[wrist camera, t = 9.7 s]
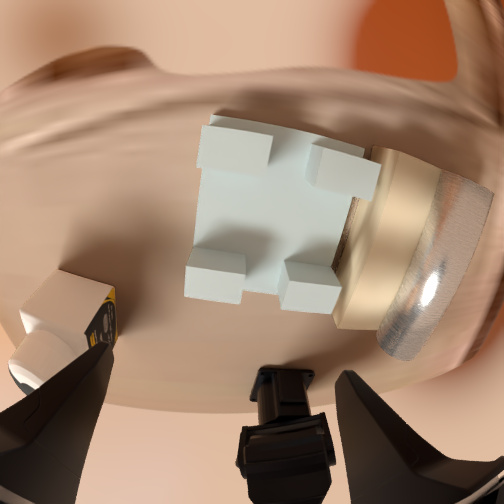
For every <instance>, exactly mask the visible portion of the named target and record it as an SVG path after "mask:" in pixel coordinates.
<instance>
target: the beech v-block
mask: <svg viewBox="0 0 504 504" xmlns="http://www.w3.org/2000/svg"><path fill="white" fill-rule="evenodd" d="M370 161H373V162H376V163H378V164H381V168H380V172H379V176H378V180H377V184H376V187H375V191H374V194H373V198H372V201H368V200H364V199H359V202H358V205H357V209H356V212H355V216H354V219H353V222H352V225H351V229H350V232H349V235H348V238H347V241H346V244H345V247H344V250H343V253H342V256H341V259H340V262H339V265H338V268H337V270H336V273H335V275H336V277H337V279H338V281H339V282H340V284H341V286H342V289H341V291H340V294H339V296H338V299H337V301H336V304H335V306H334V308H333V311H332V313H331V314H332V316H333V318H334V321H335V323H336V326H337V328H338V329H356V330H378V329H379V327H380V325H381V323H382V322H383V320H384V318H385V316H386V314H387V312H388V310H389V308H390V306H391V304H392V302H393V300H394V298H395V296H396V294H397V292H398V290H399V287H400V285H401V283H402V281H403V279H404V276H405V274H406V272H407V270H408V267H409V265H410V263H411V260H412V258H413V255H414V253H415V250H416V248H417V245H418V243H419V240H420V237H421V235H422V232H423V229H424V226H425V224H426V221H427V218H428V215H429V212H430V209H431V206H432V202H433V199H434V196H435V192H436V189H437V185H438V182H439V178H440V174H441V171H442V169H440V168H438V167H435V166H433V165H431V164H429V163H427V162H424V161H422V160H420V159H418V158H415V157H413V156H410V155H408V154H406V153H403V152H401V151H397V150H393V149H389V148H384V147H380V146H376V145H373V148H372V153H371V157H370Z"/></svg>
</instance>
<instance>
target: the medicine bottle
mask: <svg viewBox="0 0 504 504" xmlns="http://www.w3.org/2000/svg"><path fill="white" fill-rule="evenodd" d="M20 315H21V318H22V321H23V324H24V327H25V330H26V333H27V335H26V337H25V338H24V339H23V341H22V342H21V344H20V345H19V346H18V348H17V349H16V351H15V352H14V354H13V355H12V357H11V358H10V360H9V362H8V366H9V372H10V374H11V376H12V378H13V379H14V381H15V383H16V384H17V386H18V387H19V388H20V389H21V390H22V391H23V392H24V393H25V394H26V395H29V394H30V393H31V392H33V391H34V390H35V389H37V388H39V386H41V385H42V384H43V383H45V382H46V381H47V380H48V379H50V378H51V377H52V376H54V375H55V374H56V373H58V372H59V371H60V370H62V369H63V368H64V367H66V366H67V365H68V364H70V363H71V362H72V361H74V360H75V359H76V358H77V357H79V356H80V355H81V354H83V353H84V352H85V351H87V350H88V349H90V348H91V347H92V346H94V345H95V344H96V343H98V342H99V341H105V342H109V343H110V344H111V347H112V350H113V348H114V345H115V343H116V341H117V339H118V334H117V321H116V303H115V288H114V287H113V286H111V285H108V284H104V283H101V282H97V281H94V280H90V279H87V278H84V277H81V276H77V275H74V274H71V273H68V272H65V271H62V270H58V269H57V270H55V271H54V272H53V273H52V274H51V275H50V276H49V277H48V279H47V280H46V281H45V282H44V283H43V284H42V285H41V286H40V287H39V288H38V289H37V290H36V291H35V292H34V293H33V295H32V296H31V297H30V298H29V299H28V300H27V301H26V302H25V303H24V305H23V306H22V307H21V308H20Z"/></svg>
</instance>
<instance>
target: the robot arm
mask: <svg viewBox="0 0 504 504" xmlns="http://www.w3.org/2000/svg"><path fill="white" fill-rule="evenodd" d="M113 363H114V355H113V351H112V347H111V344H110V343H109V342H105V341H99V342H98V343H96V344H95V345H94V346H92V347H91V348H90V349H88V350H87V351H85V352H84V353H83V354H81V355H80V356H79V357H77V358H76V359H75V360H74V361H72V362H71V363H70V364H68V365H67V366H66V367H64V368H63V369H62V370H60V371H59V372H58V373H56V374H55V375H54V376H52V377H51V378H50V379H48V380H47V381H46V382H45V383H43V384H42V385H41V386H39V388H37V389H35V390H34V391H33V392H31V393H30V394H29V395H27V396H26V397H25V398H23V399H22V400H20V401H18V402H17V403H15V404H14V405H12V406H10V407H9V408H7V409H6V410H4V411H2V412H0V504H75V500H76V496H77V491H78V487H79V483H80V478H81V474H82V470H83V466H84V463H85V459H86V456H87V452H88V449H89V445H90V441H91V438H92V435H93V432H94V429H95V426H96V423H97V419H98V416H99V413H100V410H101V408H102V405H103V402H104V399H105V396H106V392H107V388H108V384H109V379H110V375H111V371H112V367H113ZM314 376H315V373H314V371H312V370H286V369H269V368H261V369H259V370H258V373H257V376H256V379H255V382H254V385H253V388H252V391H251V394H250V401H252V402H258V420H259V425H257V426H249V427H248V426H243V427H242V432H241V434H240V440H239V448H238V455H237V459H236V466H237V467H238V468H239V469H240V472H241V475H242V477H243V478H244V479H247V485H248V495H249V498H250V500H251V501H252V502H253V504H322V501H323V500H324V498H325V496H326V494H327V491H328V490H329V488H330V485H331V483H332V480H331V474H330V469H329V467H330V466H334V465H336V458H335V451H334V446H333V442H332V438H331V434H330V430H329V427H328V423H327V419H326V415H325V412H322V413H320V414H317V415H313V416H312V415H311V410H310V405H309V401H308V396H307V391H306V390H307V389H308V387H309V385H310V383H311V382H312V380H313V378H314ZM335 396H336V409H337V420H338V425H339V431H340V436H341V442H342V447H343V453H344V458H345V465H346V472H347V478H348V484H349V491H350V498H351V504H504V475H503V476H502V477H500V478H498V474H499V473H500V472H502V471H503V470H504V456H500V457H499V458H498V459H496V460H495V461H490V462H482V461H466V460H456V459H451V458H449V457H447V456H445V455H444V454H442V453H441V452H440V451H438V450H437V449H436V448H434V447H433V446H432V445H431V444H429V443H428V442H427V441H426V440H424V439H423V438H422V437H421V436H420V435H418V434H417V433H416V432H415V431H414V430H413V429H412V428H411V427H410V426H409V425H408V424H406V422H405V421H404V420H403V419H402V418H401V417H399V415H398V414H397V413H396V412H395V411H393V409H392V408H391V407H390V406H389V405H388V404H387V403H386V402H384V400H383V399H382V398H381V397H380V396H379V395H378V394H377V393H376V392H375V391H374V390H373V389H372V388H371V387H370V386H369V385H368V384H367V383H366V382H365V381H364V380H363V379H362V378H361V377H360V376H359V375H358V374H357V373H356V372H354V371H353V370H344V371H342V373H341V374H340V376H339V378H338V379H337V381H336V383H335Z"/></svg>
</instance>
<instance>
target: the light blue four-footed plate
mask: <svg viewBox="0 0 504 504" xmlns="http://www.w3.org/2000/svg"><path fill="white" fill-rule="evenodd" d="M364 151H365V148H362V147H359V146H356V145H352V144H349V143H346V142H342V141H339V140H335V139H332V138H328V137H325V136H321V135H317V134H313V133H309V132H305V131H301V130H296V129H292V128H287V127H283V126H278V125H273V124H268V123H262V122H257V121H251V120H245V119H239V118H232V117H225V116H217V115H211V117H210V123H209V125H202V131H201V137H200V144H199V151H198V158H197V165H196V167H198V168H202V175H201V182H200V190H199V198H198V206H197V215H196V224H195V233H194V243H193V249H192V251H191V254H190V256H189V259H188V262H187V265H186V273H185V289H184V297H191V298H197V299H204V300H210V301H217V302H224V303H232V304H239V305H240V302H241V297H242V292H243V290H245V291H252V292H260V293H268V294H276V295H278V297H279V302H280V307H281V310H291V311H301V312H312V313H323V314H331V313H332V311H333V308H334V306H335V304H336V301H337V299H338V296H339V294H340V291H341V289H342V286H341V284H340V282H339V281H338V279H337V277H336V275H335V273H334V272H333V270H332V268H331V265H332V262H333V259H334V256H335V253H336V250H337V247H338V244H339V241H340V238H341V234H342V231H343V228H344V225H345V221H346V218H347V215H348V211H349V208H350V204H351V201H352V197H357V198H360V199H364V200H368V201H372V198H373V194H374V191H375V187H376V184H377V180H378V176H379V172H380V168H381V164H378V163H376V162H373V161H370V160H367V159H364V158H363V155H364Z"/></svg>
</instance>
